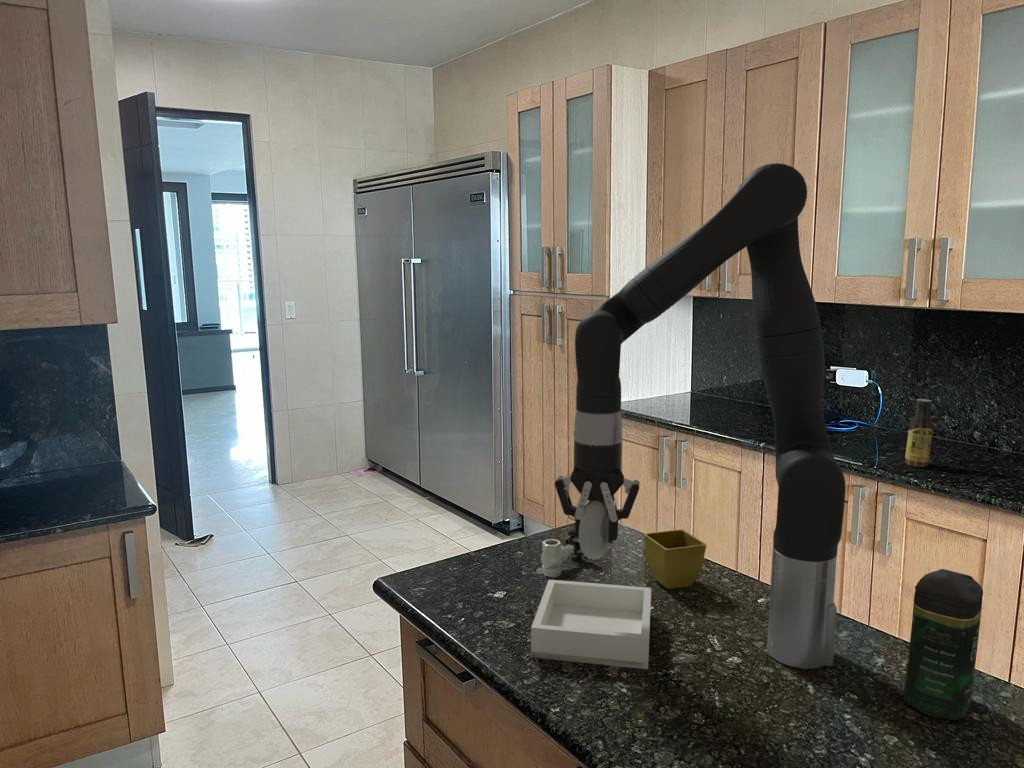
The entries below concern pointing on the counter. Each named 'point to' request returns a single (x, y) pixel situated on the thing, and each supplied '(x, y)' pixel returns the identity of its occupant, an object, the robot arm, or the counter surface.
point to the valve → (558, 554)
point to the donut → (594, 529)
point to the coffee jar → (943, 644)
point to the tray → (593, 624)
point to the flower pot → (674, 557)
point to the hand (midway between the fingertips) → (596, 540)
